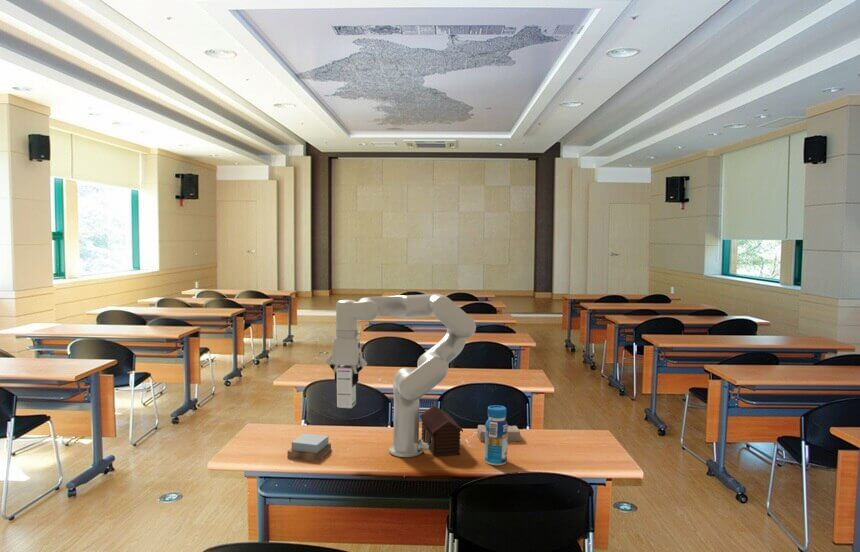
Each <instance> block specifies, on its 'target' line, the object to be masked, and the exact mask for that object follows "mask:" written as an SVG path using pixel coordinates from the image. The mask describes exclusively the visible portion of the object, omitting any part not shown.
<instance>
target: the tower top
mask: <svg viewBox="0 0 860 552" xmlns="http://www.w3.org/2000/svg"><path fill="white" fill-rule="evenodd" d="M328 443H329V436H328V435H321V434H311V433H303V434H301V435H300V436H299V437H296V439H294V440H292V441H291V448H292V450H294V451H302V452H311V453H318V452H319V451H320V450H321V449H323V448H324V447H325V446H327V445H328Z"/></svg>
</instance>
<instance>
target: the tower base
mask: <svg viewBox="0 0 860 552" xmlns="http://www.w3.org/2000/svg"><path fill="white" fill-rule="evenodd" d="M331 448H332V442H328V445H327V446H325V447H324V448H323V449H321V450H320V451H319V452H318V453H311V452H302V451H294V450H292V447H290V448H289V450H287V458H289V459H299V460H306V461H314V462H315V461H316V462H319V461H320V460H321V459H322V458H323V457H324V456H325V455H327V454H328V453H329V452H330V451H331V450H332V449H331Z"/></svg>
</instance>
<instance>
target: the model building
mask: <svg viewBox="0 0 860 552" xmlns="http://www.w3.org/2000/svg"><path fill="white" fill-rule="evenodd" d="M419 419H421V438H420V439H421V441H423V443H428V445H430V449H429V450H428V451H430V453H431V454H432V456H433V457H449V456H459V455H461V448H460V447H461V444H460V443H461V432H462V433H463V432H464V429H463V428H462V427H461V426H460V425H459V424H458V423H457V422H456V421H455V420H454V418H452V416H451V415H449V413H448V412H446V411H444V410H442V409H441V408H439V407H437V406H436V401H434V402H433V405H432V406H431V407H429V408H427V410H425V411H424V412H423V413H421V414H419Z"/></svg>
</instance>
